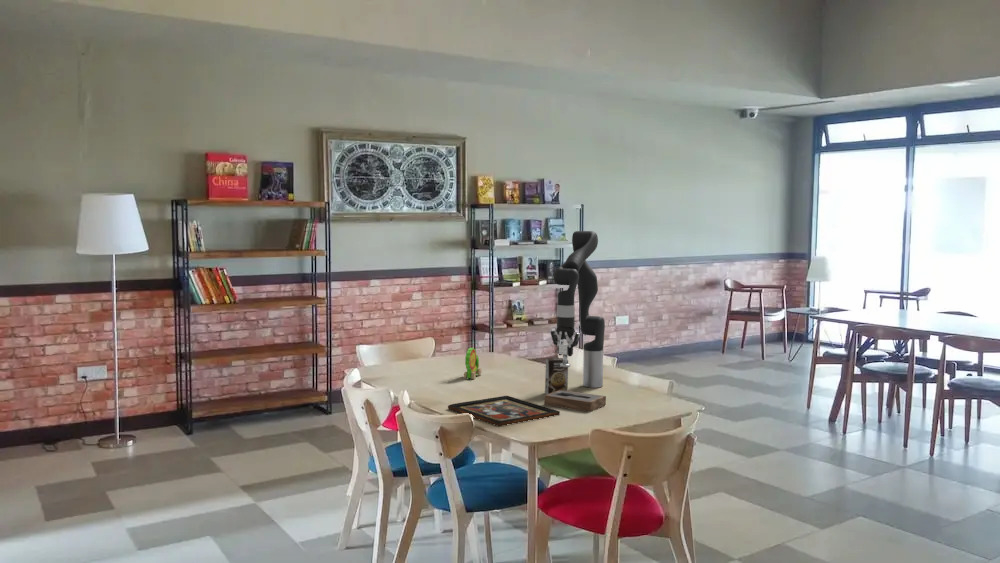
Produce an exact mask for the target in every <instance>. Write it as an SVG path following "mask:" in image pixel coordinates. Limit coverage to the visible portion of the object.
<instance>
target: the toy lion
mask: <svg viewBox="0 0 1000 563" xmlns="http://www.w3.org/2000/svg"><path fill="white" fill-rule="evenodd" d="M464 360H465V361H464V362H465V369H466V371H464V373H463V378H464V380H468V379H471V380H476V376H479V377H480V375H481V376H482V368H480V367H479V366H480V360H479V356H478V355H477V351H476V349H475V348H474V347H469V348H468V349H467V350H466V354H465V359H464Z"/></svg>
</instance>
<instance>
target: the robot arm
mask: <svg viewBox="0 0 1000 563" xmlns="http://www.w3.org/2000/svg"><path fill="white" fill-rule="evenodd" d="M572 233H573V234H572V237H571V245H572V251H573V252H571V253H570V254H569V255H568V256H567V258H566V260H565V262H564V263H562V264H561V265H559V266H558V267H557V268H556V269H555V270H554V273H553V281H554V283H555V284H556V285H559V286H568V287H567V289H565V290H560V291H558V293H557V308H556V329H555V330H551V331H550V335H551V340H552V343H553V345H555V346H557V354H558V356H563V354H559V344H563V343H564V341H565V340H566V344H568V347H569V348H568V357H572V356H573V354H574V347H577V346H578V344H579V341H580V339H581V335H585V336H592V337H594V339H593V340H591V341H589V342H586V343H584V344H583V362H582V363H583V364H582V365H583V367H582V368H583V369H582V378H583V379H582V386H583V387H585V388H590V389H591V388H593V389H594V388H602V387H603V385H604V345H605V344H604V343H605V328H606V325H605V323H606V322H605V318H604V317H603V316H597V315H590V313H589V312H590V307H591V305H592V303H593V301H594V300H595V298H596V296H597V294H598V290H599V285H598V284H599V283H598V276H597V275H596V273H595V271H594V270H593V269H592V267H591V265H589V263H588V262H587V259H588V258H589V257H590V256H591V255H592V254H593V253H594V252H595V251H596V249H597V248H598V244H599V238H598V234H597V232H595V231H593V230H589V231H588V230H577V231H573V232H572ZM576 289H577V293H578V299H579V300H578V303H579V320H580V321H579V325H580V330H581V332H576V330H575V325H576V324H575V320H576V319H575V318H576V316H575V315H576V314H575V311H576V310H575V295H576ZM581 333H582V334H581ZM557 335H558V336H557ZM573 338H574V339H573Z"/></svg>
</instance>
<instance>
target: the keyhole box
mask: <svg viewBox="0 0 1000 563" xmlns="http://www.w3.org/2000/svg"><path fill="white" fill-rule="evenodd" d="M543 398H544V399H543V405H544V406H549V405H551V406H550V407H556V406H558V407H557V408H562V407H563V408H564V409H568V408H570V409H569V410H575V409H576V411H581V410H583V411H582V412H588V411H590V412H589V413H591V412H594V411H596V410H599V409H601V408H604V407H605V405H607V402H606V401H607V396H606V395H599V394H593V393H587V392H586V393H585V392H578V391H571V390H568V391H565V390H559V391H556V392H553V393H550V394H545V395H544V396H543ZM600 407H601V408H600ZM598 408H599V409H598ZM593 410H594V411H593Z"/></svg>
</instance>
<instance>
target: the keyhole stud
mask: <svg viewBox="0 0 1000 563" xmlns="http://www.w3.org/2000/svg"><path fill="white" fill-rule="evenodd" d="M568 348H569V347H568V343H564V342H563V344H559V354H562V358H563V363H561V364H560V367H568V368H571V364H570V363H569V362H568V363H567V360H568V361H569V358H568V357H569V356H568ZM559 354H558V355H559Z"/></svg>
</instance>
